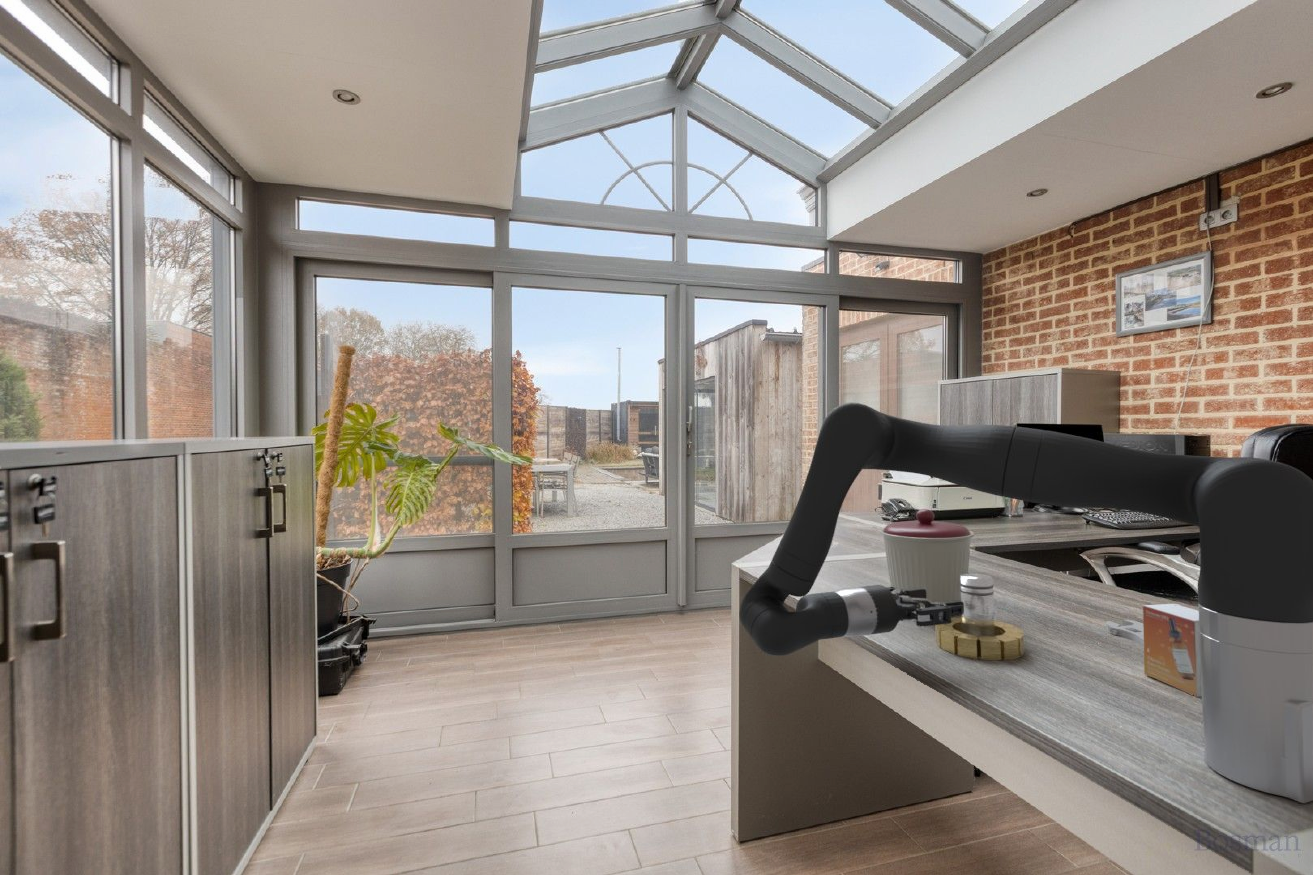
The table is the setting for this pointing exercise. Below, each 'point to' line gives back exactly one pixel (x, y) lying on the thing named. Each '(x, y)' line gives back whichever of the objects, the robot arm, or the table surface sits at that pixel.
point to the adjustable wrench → (1127, 630)
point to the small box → (1173, 646)
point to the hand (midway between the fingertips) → (942, 600)
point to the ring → (981, 641)
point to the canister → (927, 556)
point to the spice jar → (977, 604)
